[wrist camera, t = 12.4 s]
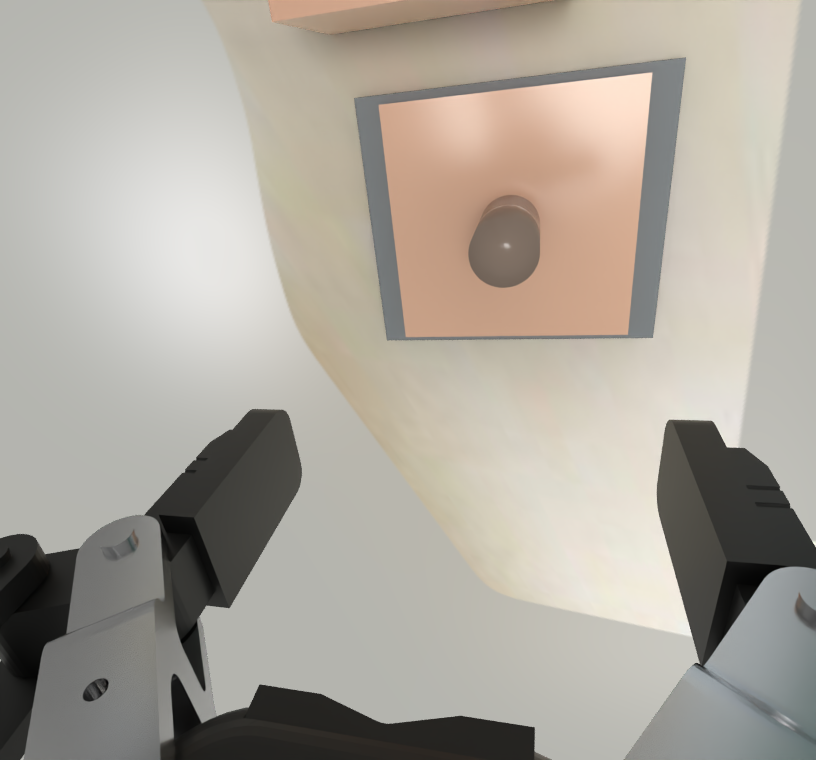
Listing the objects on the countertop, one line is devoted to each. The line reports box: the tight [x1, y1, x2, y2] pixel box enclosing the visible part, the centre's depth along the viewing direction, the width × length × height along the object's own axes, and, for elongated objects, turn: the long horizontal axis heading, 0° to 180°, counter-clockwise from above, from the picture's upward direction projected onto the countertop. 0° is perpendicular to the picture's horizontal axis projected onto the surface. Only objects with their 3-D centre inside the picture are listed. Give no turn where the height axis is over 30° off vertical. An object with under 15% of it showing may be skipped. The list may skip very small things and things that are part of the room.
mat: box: [354, 58, 686, 340], centre depth 30 cm, size 16×14×1 cm
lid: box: [379, 72, 652, 337], centre depth 27 cm, size 13×13×6 cm
